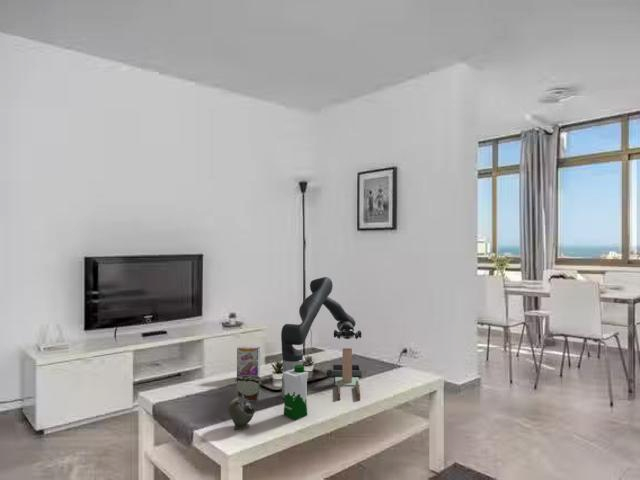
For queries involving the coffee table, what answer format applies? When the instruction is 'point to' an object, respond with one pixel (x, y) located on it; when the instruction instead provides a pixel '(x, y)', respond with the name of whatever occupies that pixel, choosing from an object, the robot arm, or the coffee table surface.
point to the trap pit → (337, 370)
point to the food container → (248, 386)
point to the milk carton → (295, 392)
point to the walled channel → (356, 390)
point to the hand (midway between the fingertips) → (347, 337)
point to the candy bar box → (248, 360)
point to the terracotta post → (347, 365)
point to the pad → (346, 382)
